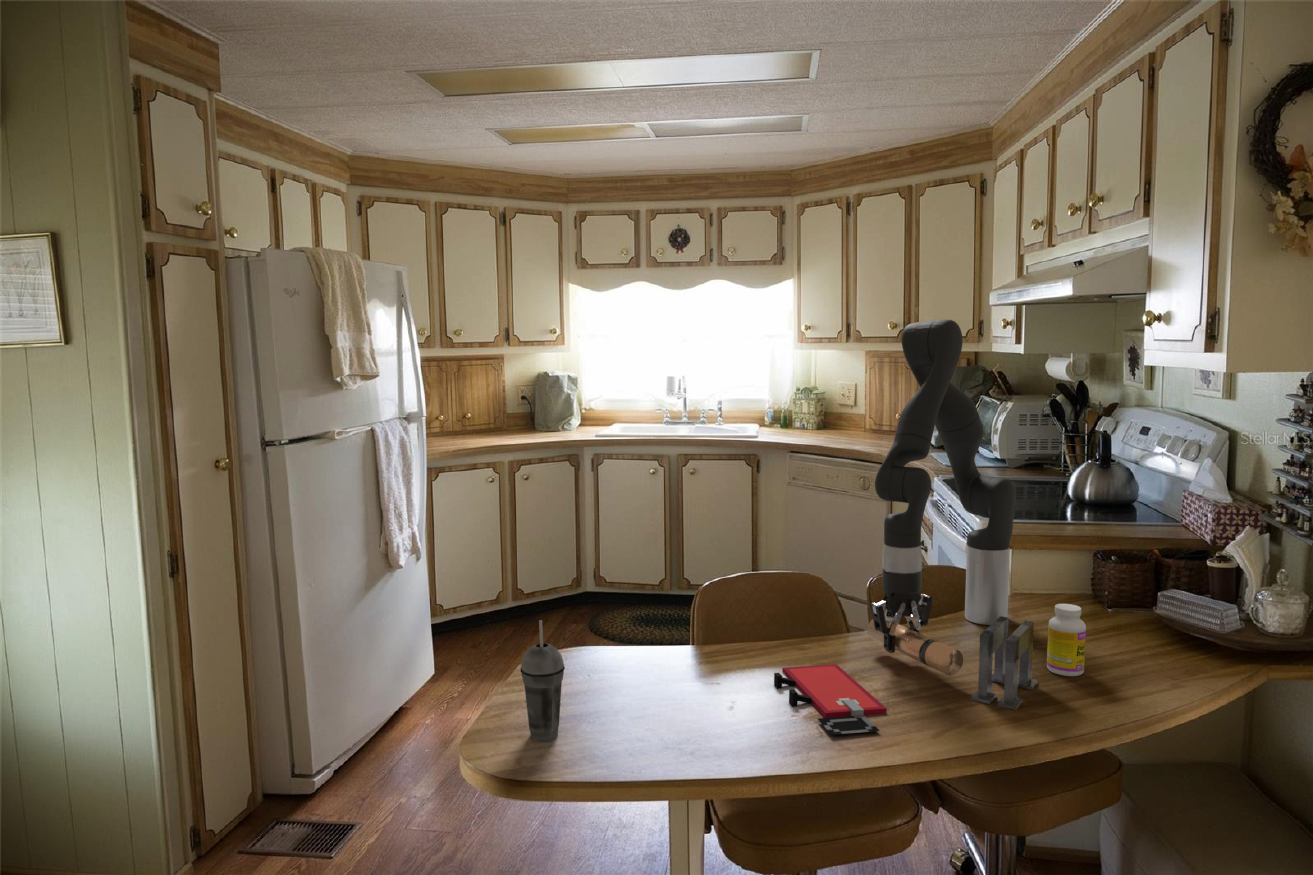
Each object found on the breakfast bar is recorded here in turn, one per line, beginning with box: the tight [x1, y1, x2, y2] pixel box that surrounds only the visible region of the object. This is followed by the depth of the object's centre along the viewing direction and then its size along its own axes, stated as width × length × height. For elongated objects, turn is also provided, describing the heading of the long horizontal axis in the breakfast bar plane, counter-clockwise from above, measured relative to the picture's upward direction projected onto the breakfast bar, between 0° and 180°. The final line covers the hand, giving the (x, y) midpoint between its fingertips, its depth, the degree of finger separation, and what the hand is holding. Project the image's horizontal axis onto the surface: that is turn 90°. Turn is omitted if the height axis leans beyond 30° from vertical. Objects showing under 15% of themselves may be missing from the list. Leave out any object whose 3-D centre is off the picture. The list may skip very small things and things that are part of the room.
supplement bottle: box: [1046, 603, 1087, 677], centre depth 175 cm, size 7×7×13 cm
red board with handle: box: [773, 663, 887, 736], centre depth 163 cm, size 30×3×15 cm
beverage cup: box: [520, 619, 566, 743], centre depth 149 cm, size 7×7×20 cm
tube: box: [867, 618, 964, 677], centre depth 177 cm, size 22×5×5 cm, turn 24°
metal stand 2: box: [996, 620, 1038, 711], centre depth 164 cm, size 15×3×12 cm, turn 144°
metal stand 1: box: [971, 616, 1009, 705], centre depth 167 cm, size 15×3×12 cm, turn 144°
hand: (901, 649), depth 181 cm, fingers closed on tube, 5 cm apart
